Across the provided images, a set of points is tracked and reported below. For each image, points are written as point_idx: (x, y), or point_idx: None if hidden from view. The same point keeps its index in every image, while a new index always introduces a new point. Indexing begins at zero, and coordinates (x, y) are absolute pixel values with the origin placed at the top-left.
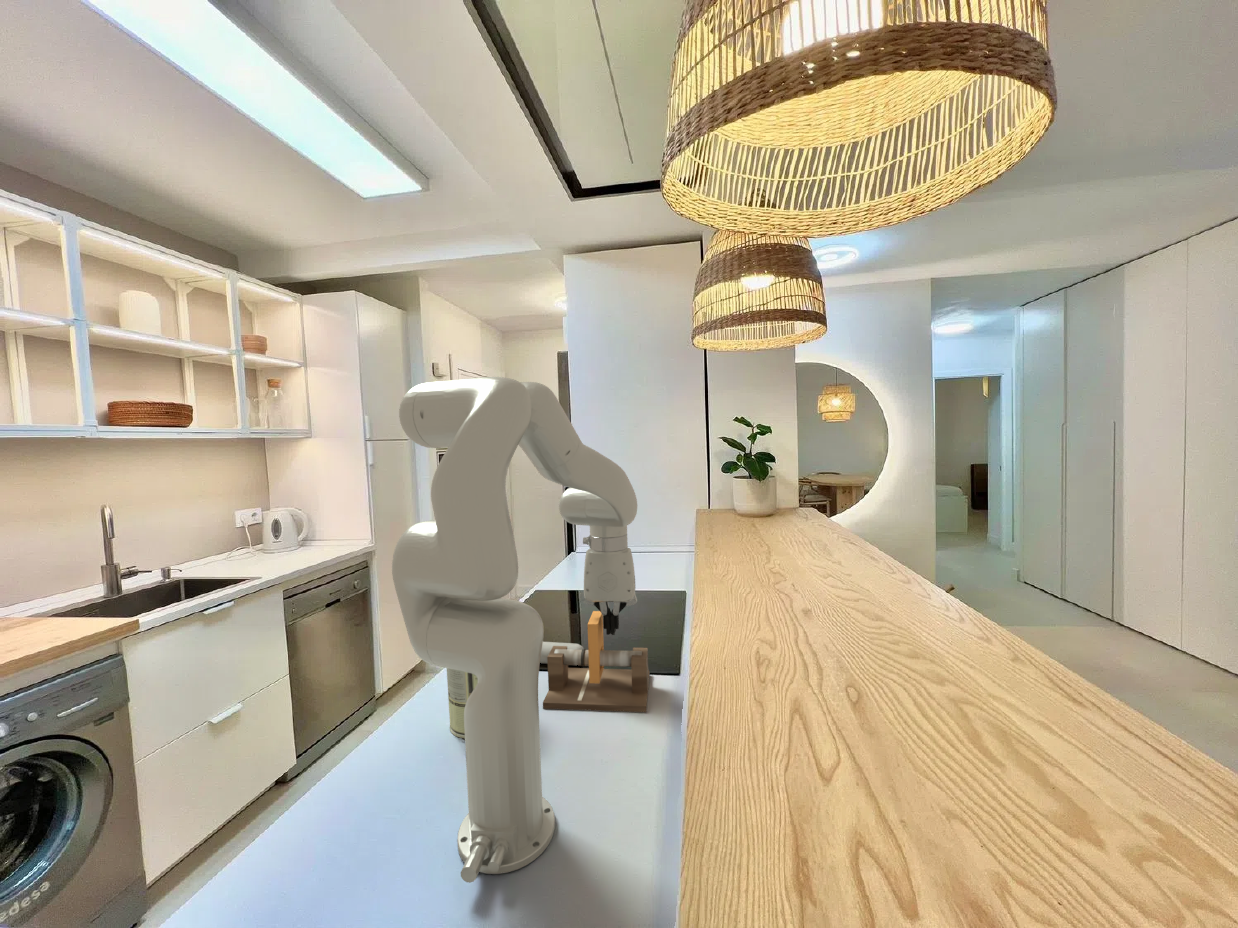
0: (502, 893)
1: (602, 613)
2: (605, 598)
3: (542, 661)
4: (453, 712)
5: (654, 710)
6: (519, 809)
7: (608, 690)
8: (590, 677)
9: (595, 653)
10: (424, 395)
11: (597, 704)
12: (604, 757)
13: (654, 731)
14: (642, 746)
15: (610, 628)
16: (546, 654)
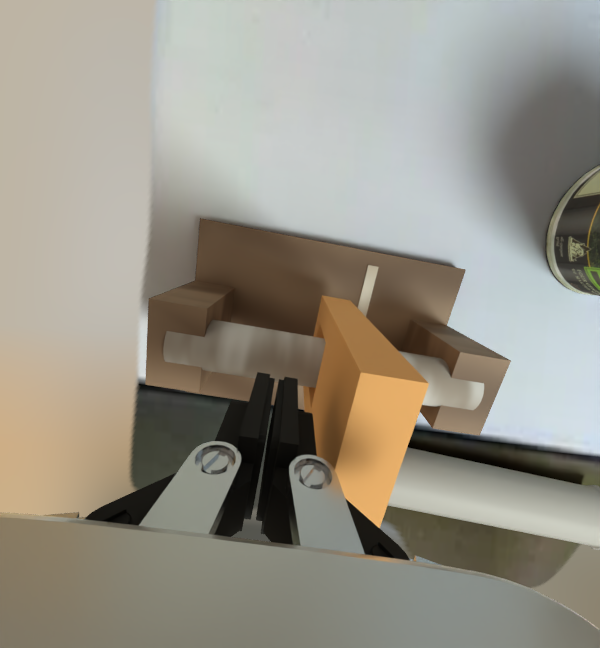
0: None
1: (324, 472)
2: (304, 596)
3: (450, 457)
4: None
5: (184, 226)
6: None
7: (295, 307)
8: (349, 303)
9: (345, 320)
10: None
11: (327, 243)
12: (319, 24)
13: (187, 128)
14: (220, 62)
15: (274, 407)
16: (450, 470)
